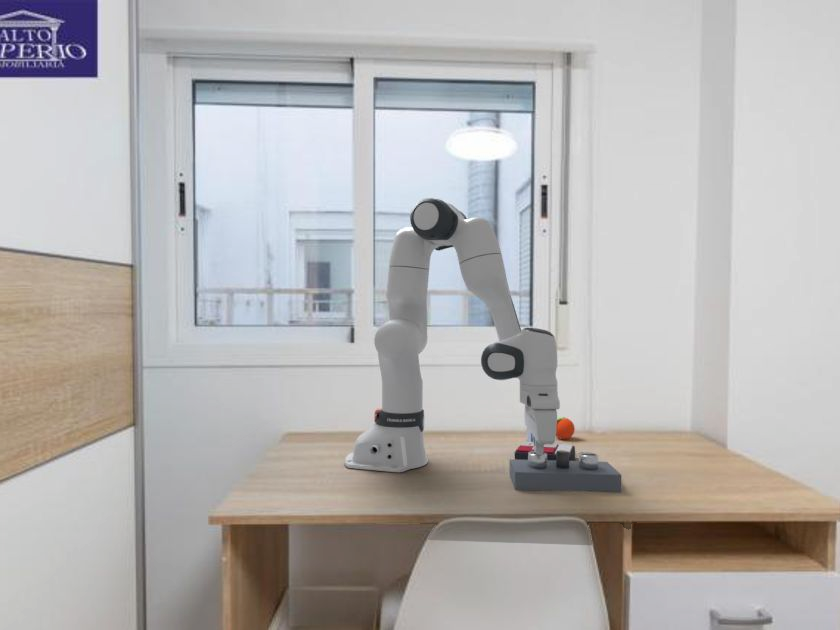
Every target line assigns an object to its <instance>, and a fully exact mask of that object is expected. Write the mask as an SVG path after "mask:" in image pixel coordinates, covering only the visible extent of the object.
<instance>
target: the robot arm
mask: <svg viewBox="0 0 840 630" xmlns="http://www.w3.org/2000/svg"><path fill="white" fill-rule="evenodd" d="M410 212H411V213H410V216H409V217H410V218H409V219H410V224H411V227H410V226H409V227H404V228H402V229H400V230H398V231H397V233H396V234H395V235H394V239H393V242H392V246H391V251H390V254H389V255H390V256H389V263H388V271H387V272H388V273H387V275H388V276H387V285H386V299H387V304H388V313H389V320H388V321H386V322H384V323H383V324H381V326H380V327H379V328H378V329H377V331H376V332H375V335H374V340H373V341H374V347H375V350H376V351H377V356H378V363H379V369H380V375H381V388H382V389H381V400H382V401H381V408H380V407H378V408H376V409H375V410H374V424H372V425H371V426H370V427H368V428H367V429H366V430H364V431H363V432H362V433H360V435H358V437H357V438H356V439H355V443H354V445H353V451H352V452H350V453H348V454H347V455H346V456H345V458H344V466H345V467H346V468H347V469H356V470H368V471H379V472H389V473H403V472H406V471H408V470H412V469H417V468H421V467H423V466H425V465H427V464H428V462H429V460H428V456H427V452H426V447H425V439H424V431H425V410H424V409H423V394H424V393H423V391H424V390H423V379H422V374H421V369H420V358H419V354H421V353H422V352H423V351H424V349H425V348H426V346H427V344H428V305H427V303H428V302H427V301H428V287H429V275H430V265H431V256H432V253H434V250H435V251H438V252H439V251H443V250H445V249H449V248H454V250H455V253H456V256H457V261H458V265H459V270H460V273H461V277H462V280H463V282H464V284H465V286H466V289H467V290H468V291H469V292H470V293H472V295H474V296H476V297H477V298H478V299H479V300H480V301H482V302H483V303H484V304H485V306H486V307H487V308H488V309H489V310H488V311H489V312H490V314H491V317H492V321H493V325H494V327H495V330H496V331H495V332H496V334H497V337H498V341H496V342H493V343H490V344H489V345H488V346H486V347H485V348H483V349H484V350H482V353H481V357H480V364H481V369H482V370H483V372H484V373H485V375H487V376H488V377H489V378H491V379H493V380H496V381H507V380H512V379H518V380H519V403H521V404H522V405H524V424H525V425H524V426H526V429H527V428H528V429H529V430H530V432H531V433H532V438H533V444H534V451H535V453H536V454H537V455H543V447H544V444H553V443H556V442H555V441H556V437H557V436H556V428H557V419H558V411H557V410H560V407H561V405H560V404H561V403H560V399H559V394H558V393H559V392H558V380H557V376H556V375H557V369H558V350H557V349H558V348H557V342H556V338H555V336H554V334H553V333H552V332H551V331H548V330H546V329H541V328H535V327H525V328H523V329H522V327H521V325H520V322H519V317H518V314H517V311H516V309H515V304H514V302H513V298H512V295H511V291H510V287H509V283H508V278H507V272H506V268H505V263H504V259H503V255H502V251H501V247H500V244H499V241H498V238H497V235H496V232H495V231H494V228H493V226H492V224H491V223H490V221H489V220H488V219H486V218H483V217H480V216H479V217H477V216H476V217H470V218H467V217H466V215H465V214H464V213H463V212H462V211H460V210H459V209H458V208H457V207H455V206H454V205H453V204H451V203H448V202H445V201H443V200H442V199H440V198H436V197H427V198H423V199H421V200H419V201H417V202H416V203H415V204H414V206H413V208H412V209H411V211H410Z"/></svg>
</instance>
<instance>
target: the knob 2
mask: <svg viewBox="0 0 840 630" xmlns="http://www.w3.org/2000/svg"><path fill="white" fill-rule="evenodd" d="M578 461H579V468H581V469H584V470H597V469H598V461H599V454H597V453H593V452H587V451H585V452H582V451H581V452H579V453H578Z"/></svg>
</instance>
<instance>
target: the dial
mask: <svg viewBox="0 0 840 630" xmlns="http://www.w3.org/2000/svg"><path fill="white" fill-rule="evenodd" d="M556 467H558V468H562V469H568V468H569V451H562V450H559V451H556Z"/></svg>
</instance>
